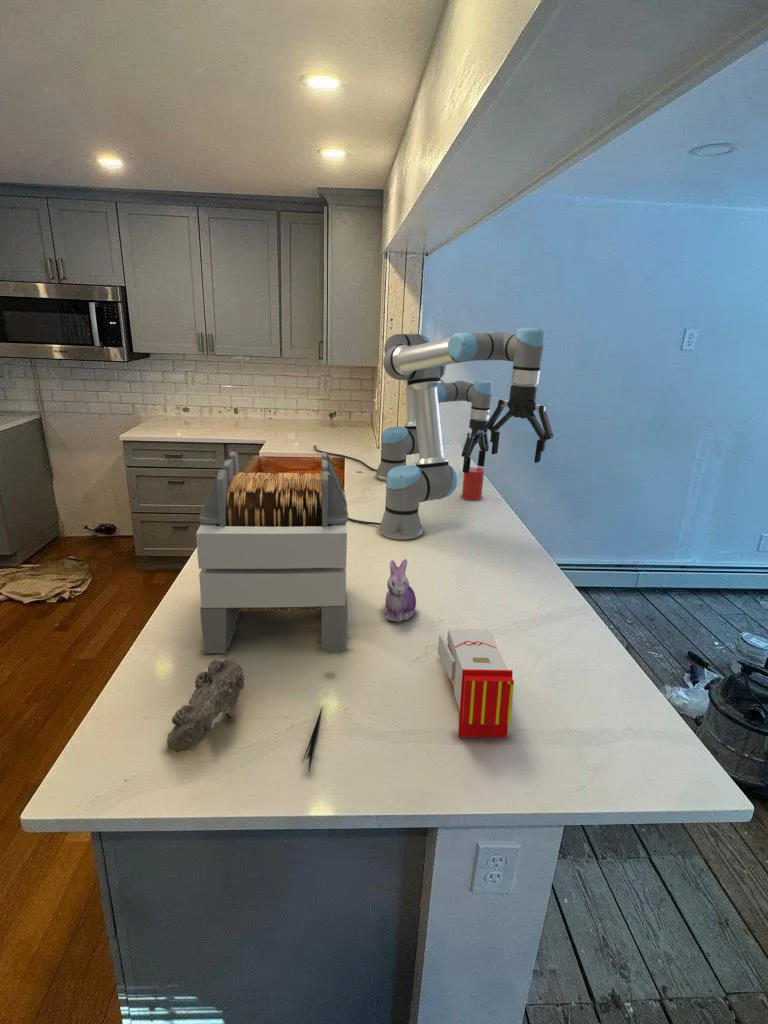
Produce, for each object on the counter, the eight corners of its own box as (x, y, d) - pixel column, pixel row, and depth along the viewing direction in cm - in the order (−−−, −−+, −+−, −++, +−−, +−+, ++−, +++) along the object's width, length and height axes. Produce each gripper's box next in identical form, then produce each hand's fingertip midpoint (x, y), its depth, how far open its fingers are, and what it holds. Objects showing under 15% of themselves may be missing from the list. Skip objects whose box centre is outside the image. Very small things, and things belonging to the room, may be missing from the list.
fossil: (192, 660, 117) (244, 628, 112) (224, 691, 120) (276, 661, 115) (142, 746, 98) (202, 712, 93) (182, 779, 101) (242, 748, 96)
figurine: (392, 627, 141) (395, 572, 136) (374, 608, 149) (376, 556, 144) (425, 619, 145) (429, 566, 140) (405, 601, 154) (408, 550, 149)
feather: (331, 679, 122) (336, 673, 122) (307, 777, 96) (313, 769, 95) (324, 675, 122) (329, 669, 121) (298, 772, 95) (304, 764, 95)
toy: (488, 613, 130) (523, 677, 101) (484, 667, 133) (517, 744, 104) (435, 612, 130) (455, 676, 101) (432, 666, 133) (451, 743, 103)
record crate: (224, 585, 158) (215, 442, 144) (341, 584, 162) (344, 444, 148) (200, 656, 126) (187, 481, 112) (347, 652, 130) (351, 482, 116)
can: (458, 494, 245) (461, 467, 241) (476, 494, 247) (479, 466, 243) (466, 500, 238) (468, 472, 234) (484, 500, 240) (487, 472, 236)
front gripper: (572, 388, 157) (560, 462, 164) (490, 379, 171) (483, 448, 178) (562, 391, 151) (551, 467, 159) (478, 381, 165) (471, 452, 172)
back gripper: (473, 425, 220) (467, 477, 227) (500, 416, 239) (494, 465, 246) (456, 421, 224) (451, 473, 231) (484, 413, 243) (478, 461, 250)
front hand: (515, 457), depth 168 cm, fingers open, 13 cm apart
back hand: (473, 469), depth 239 cm, fingers open, 13 cm apart
